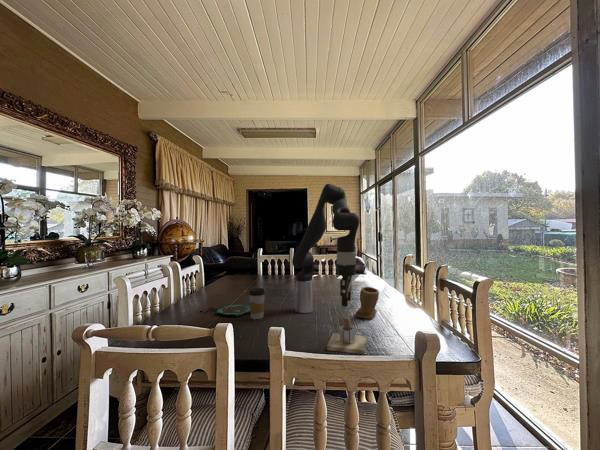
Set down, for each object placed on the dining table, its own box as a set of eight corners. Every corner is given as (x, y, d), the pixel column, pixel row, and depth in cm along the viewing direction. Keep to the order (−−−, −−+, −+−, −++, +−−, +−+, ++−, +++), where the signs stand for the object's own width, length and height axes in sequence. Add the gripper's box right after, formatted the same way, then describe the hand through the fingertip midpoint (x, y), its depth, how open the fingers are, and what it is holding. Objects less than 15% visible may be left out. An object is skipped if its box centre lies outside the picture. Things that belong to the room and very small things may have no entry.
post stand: (326, 349, 110) (326, 322, 110) (333, 336, 124) (333, 312, 124) (364, 354, 106) (363, 325, 106) (367, 339, 119) (366, 314, 119)
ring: (338, 342, 113) (338, 330, 113) (341, 337, 119) (341, 325, 119) (354, 344, 111) (354, 331, 111) (356, 338, 117) (355, 326, 117)
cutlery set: (240, 319, 149) (240, 315, 149) (195, 314, 161) (195, 310, 161) (260, 309, 167) (260, 305, 167) (219, 305, 179) (219, 302, 179)
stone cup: (376, 321, 142) (376, 291, 142) (353, 318, 147) (352, 289, 147) (382, 313, 156) (381, 285, 156) (360, 310, 161) (360, 283, 161)
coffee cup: (268, 317, 152) (267, 288, 152) (259, 321, 144) (259, 291, 144) (255, 315, 155) (254, 287, 156) (245, 319, 148) (245, 290, 148)
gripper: (339, 260, 123) (340, 298, 123) (333, 264, 109) (333, 307, 109) (357, 260, 120) (357, 299, 120) (353, 265, 107) (353, 309, 107)
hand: (346, 303), depth 115 cm, fingers open, 8 cm apart
